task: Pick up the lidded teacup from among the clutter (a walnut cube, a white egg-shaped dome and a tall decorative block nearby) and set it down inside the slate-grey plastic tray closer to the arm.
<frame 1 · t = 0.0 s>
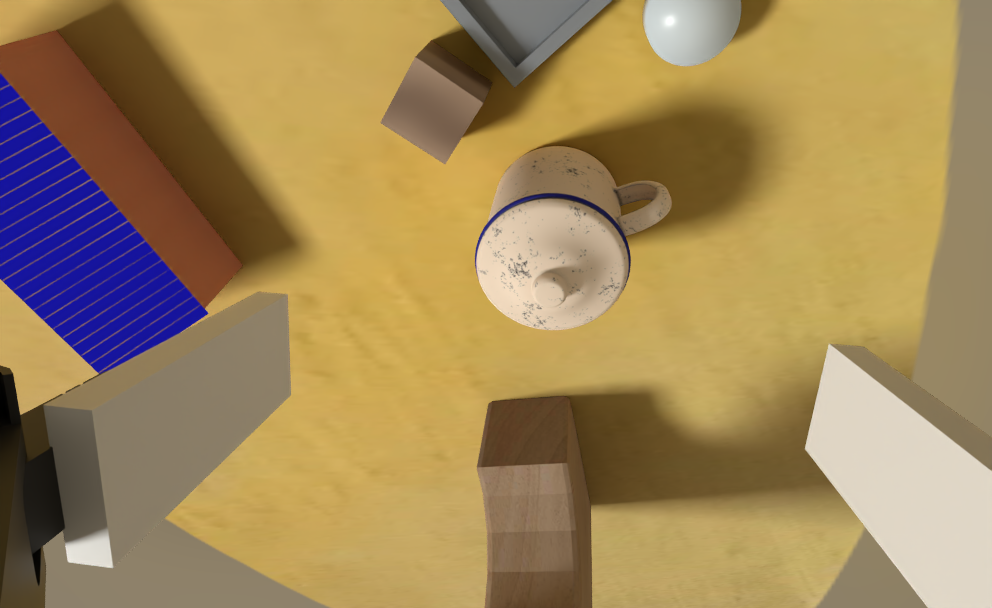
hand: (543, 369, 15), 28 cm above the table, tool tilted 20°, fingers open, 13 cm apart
walnut cube: (445, 91, 39), on the table
house: (110, 186, 46), on the table
decorative block: (542, 455, 58), on the table
white egg-shaped dome: (686, 10, 35), on the table
teacup with lid: (575, 194, 42), on the table
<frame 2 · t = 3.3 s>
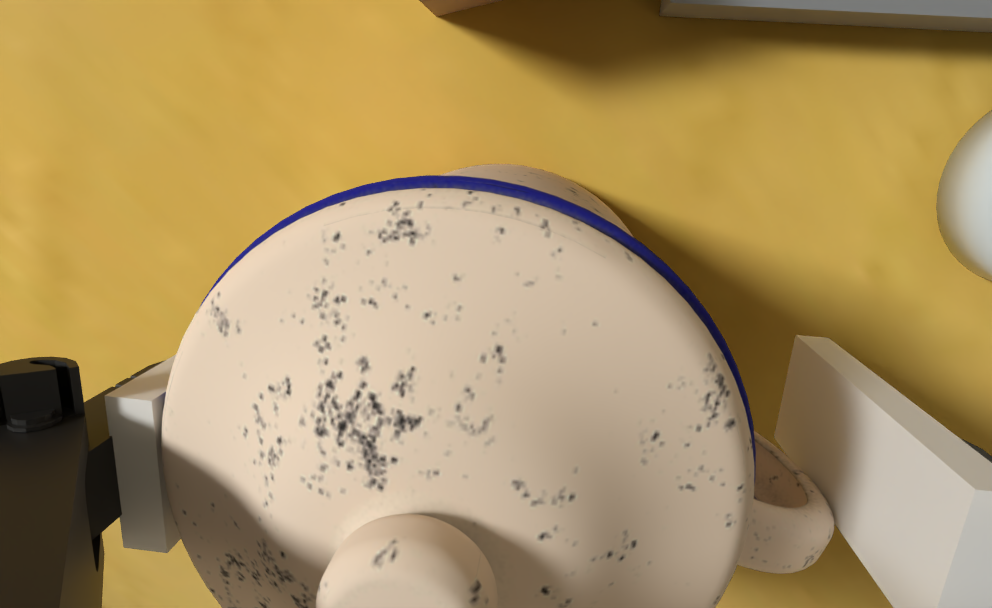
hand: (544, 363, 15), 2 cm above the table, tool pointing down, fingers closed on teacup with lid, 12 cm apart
teacup with lid: (548, 331, 18), on the table, touching gripper
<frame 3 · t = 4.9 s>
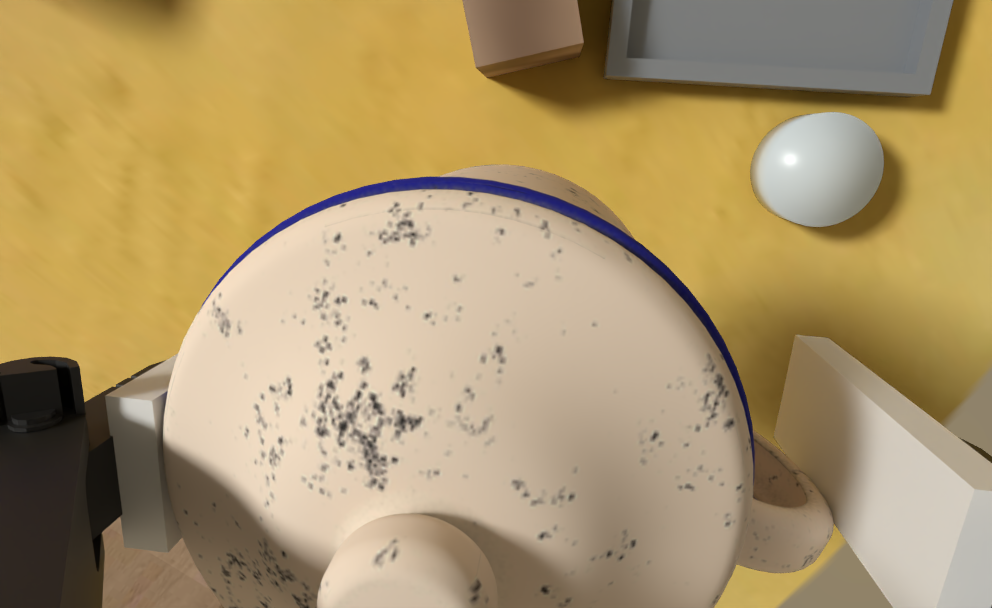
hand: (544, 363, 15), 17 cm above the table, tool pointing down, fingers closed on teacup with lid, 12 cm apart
walnut cube: (523, 17, 29), on the table
decorative block: (217, 523, 38), on the table
white egg-shaped dome: (802, 168, 29), on the table
teacup with lid: (548, 331, 18), point 14 cm above the table, touching gripper
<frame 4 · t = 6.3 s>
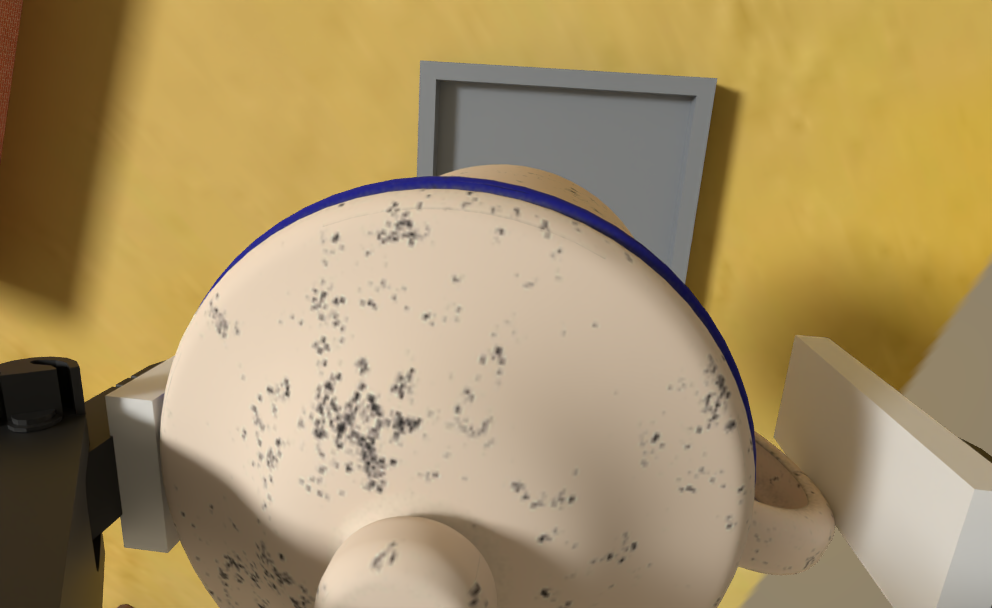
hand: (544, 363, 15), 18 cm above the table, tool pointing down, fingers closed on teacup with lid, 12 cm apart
tray: (550, 241, 32), on the table
teacup with lid: (548, 331, 18), point 15 cm above the table, touching gripper
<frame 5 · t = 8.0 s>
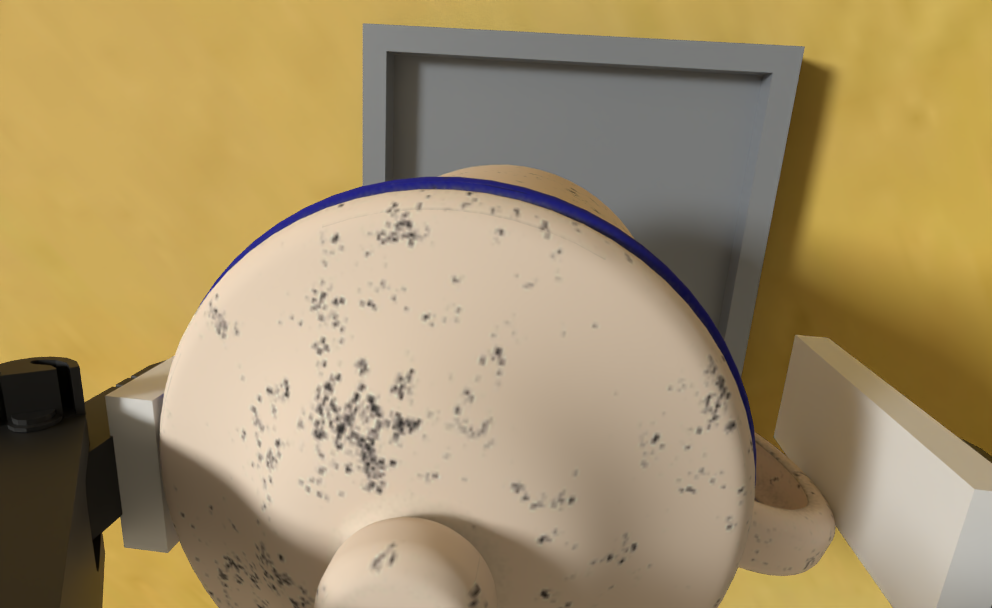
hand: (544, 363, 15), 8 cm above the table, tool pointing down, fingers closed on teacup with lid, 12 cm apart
tray: (553, 281, 23), on the table
teacup with lid: (548, 331, 18), point 6 cm above the table, touching gripper
when the fingers open (4 cm above the table, at t = 9.5 s): teacup with lid drops 1 cm, resting on tray.
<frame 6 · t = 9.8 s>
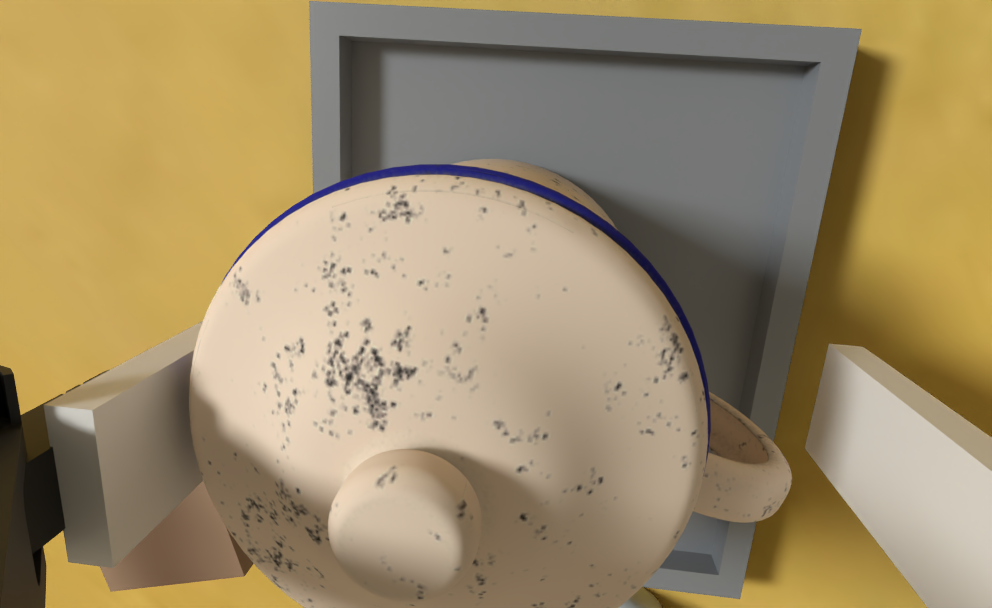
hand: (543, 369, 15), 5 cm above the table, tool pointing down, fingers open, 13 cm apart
tray: (547, 314, 19), on the table
walnut cube: (230, 443, 22), on the table
teacup with lid: (537, 315, 19), resting on tray
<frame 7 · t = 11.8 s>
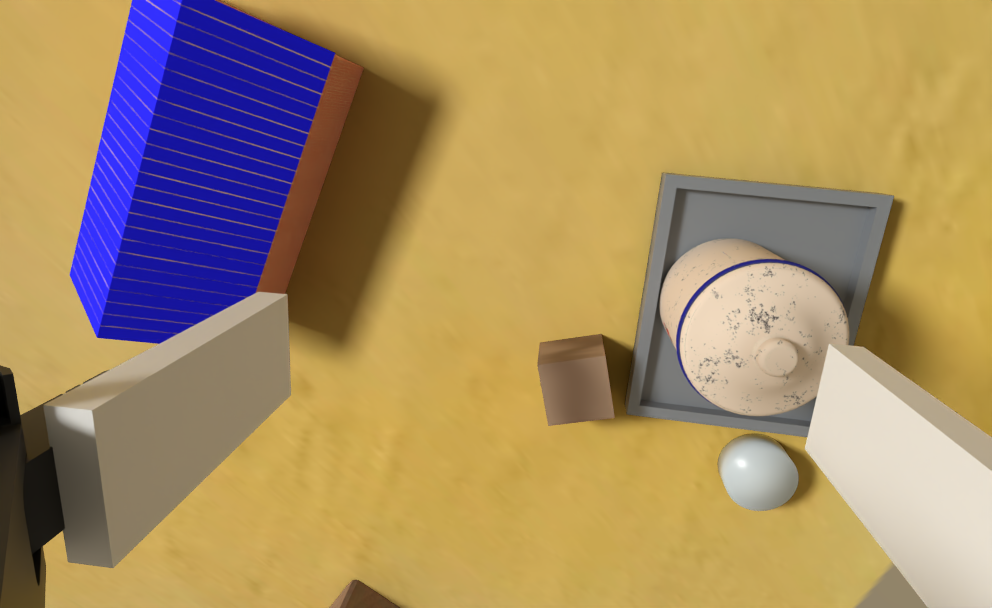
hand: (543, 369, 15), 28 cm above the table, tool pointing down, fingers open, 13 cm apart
tray: (743, 306, 42), on the table
walnut cube: (575, 366, 45), on the table
house: (248, 166, 44), on the table
white egg-shaped dome: (751, 462, 45), on the table
teacup with lid: (741, 306, 42), resting on tray
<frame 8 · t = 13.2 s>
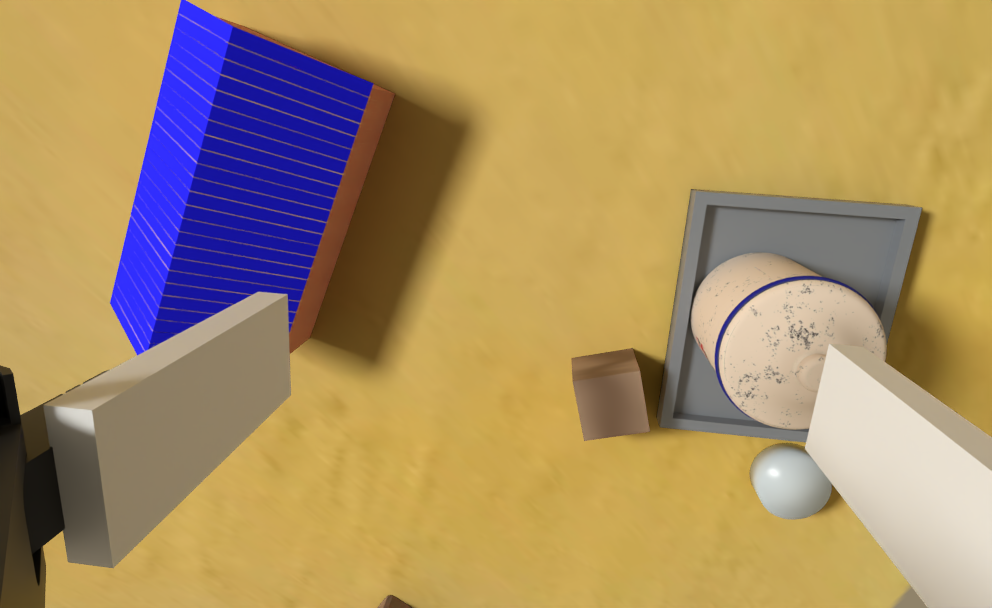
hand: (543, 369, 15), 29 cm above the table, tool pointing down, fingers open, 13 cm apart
tray: (773, 318, 43), on the table
walnut cube: (606, 380, 45), on the table
house: (280, 191, 44), on the table
white egg-shaped dome: (783, 471, 46), on the table
teacup with lid: (771, 318, 42), resting on tray
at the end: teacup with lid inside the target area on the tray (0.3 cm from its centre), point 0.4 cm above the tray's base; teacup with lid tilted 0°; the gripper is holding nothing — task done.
